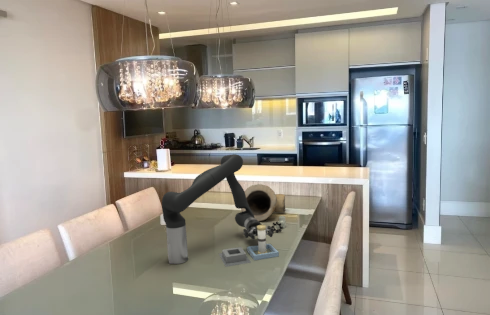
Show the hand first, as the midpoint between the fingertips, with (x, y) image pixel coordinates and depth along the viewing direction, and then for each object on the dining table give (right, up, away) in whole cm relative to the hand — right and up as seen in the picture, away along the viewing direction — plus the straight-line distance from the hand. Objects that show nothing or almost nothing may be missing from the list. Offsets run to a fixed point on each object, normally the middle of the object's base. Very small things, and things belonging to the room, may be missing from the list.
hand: (262, 236), depth 174 cm
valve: (+12, -5, +41) cm, 43 cm away
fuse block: (-13, -11, -1) cm, 18 cm away
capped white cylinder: (0, -9, +3) cm, 10 cm away
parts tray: (0, -10, +3) cm, 11 cm away
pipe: (+4, -1, +71) cm, 71 cm away
